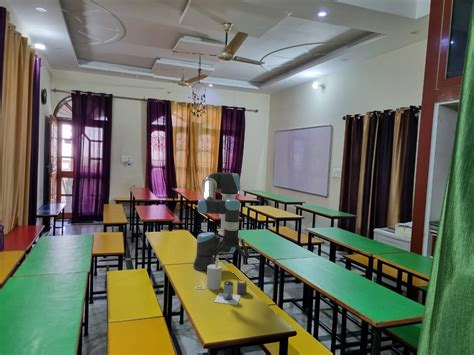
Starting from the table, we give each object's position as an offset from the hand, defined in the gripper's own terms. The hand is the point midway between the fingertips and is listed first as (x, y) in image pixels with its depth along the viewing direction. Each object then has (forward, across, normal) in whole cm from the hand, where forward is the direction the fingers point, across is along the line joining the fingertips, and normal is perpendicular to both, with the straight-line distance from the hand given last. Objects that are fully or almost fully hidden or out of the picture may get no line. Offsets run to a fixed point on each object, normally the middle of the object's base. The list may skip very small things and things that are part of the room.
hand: (229, 268), depth 179 cm
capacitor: (+16, 0, -1) cm, 16 cm away
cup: (+17, -11, +13) cm, 24 cm away
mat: (+16, 0, -1) cm, 16 cm away
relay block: (+16, +6, +9) cm, 20 cm away
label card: (+16, -18, +10) cm, 26 cm away
